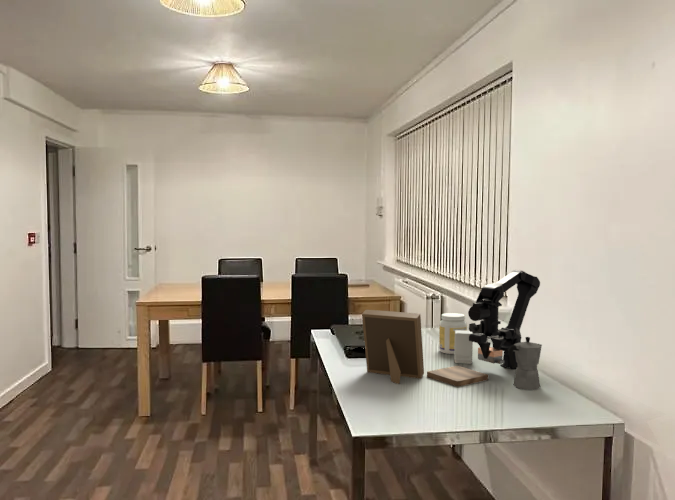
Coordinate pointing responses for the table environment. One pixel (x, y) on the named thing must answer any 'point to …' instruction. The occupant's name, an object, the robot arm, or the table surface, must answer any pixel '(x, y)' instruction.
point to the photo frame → (393, 343)
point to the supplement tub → (450, 331)
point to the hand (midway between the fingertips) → (490, 357)
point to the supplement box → (463, 347)
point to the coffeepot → (526, 364)
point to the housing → (492, 355)
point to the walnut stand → (457, 376)
